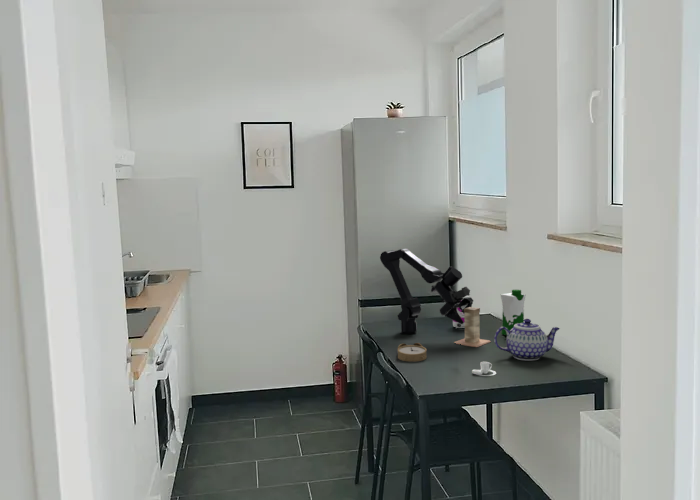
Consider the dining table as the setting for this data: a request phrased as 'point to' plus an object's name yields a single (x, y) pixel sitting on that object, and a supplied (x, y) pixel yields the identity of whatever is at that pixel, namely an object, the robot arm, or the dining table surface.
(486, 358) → the dining table surface
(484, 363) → the teacup and saucer
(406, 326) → the robot arm
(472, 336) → the ash post
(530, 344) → the teapot
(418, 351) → the alarm clock
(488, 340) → the terracotta tile
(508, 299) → the milk carton
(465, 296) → the supplement can
